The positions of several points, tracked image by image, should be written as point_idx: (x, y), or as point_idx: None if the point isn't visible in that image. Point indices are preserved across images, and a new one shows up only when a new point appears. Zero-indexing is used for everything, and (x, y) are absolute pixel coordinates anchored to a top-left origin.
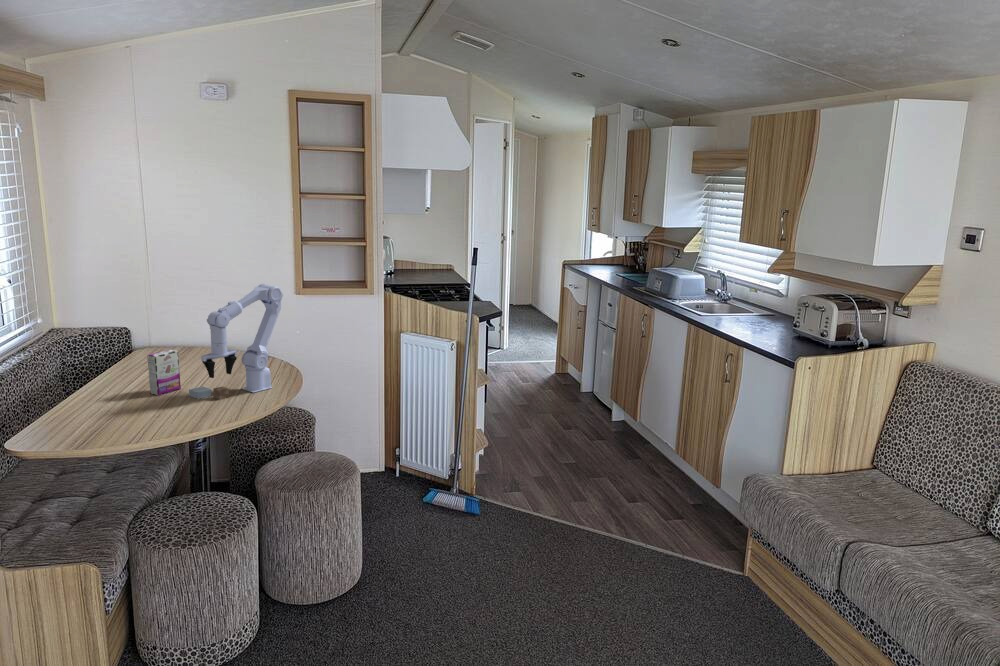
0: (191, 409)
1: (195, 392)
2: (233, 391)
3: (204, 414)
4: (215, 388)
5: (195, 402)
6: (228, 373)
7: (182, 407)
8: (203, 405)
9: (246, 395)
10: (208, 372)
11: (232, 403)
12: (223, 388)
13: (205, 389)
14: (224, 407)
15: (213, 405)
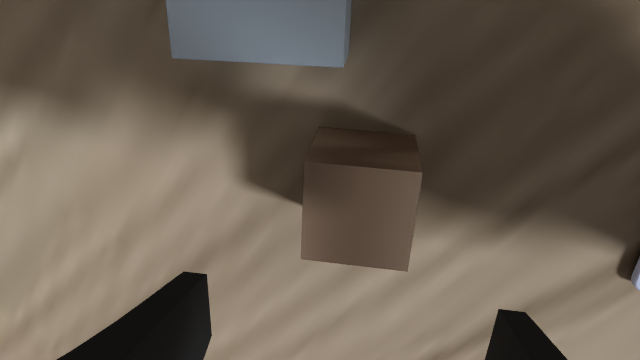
0: (50, 227)
1: (169, 12)
2: (588, 101)
3: None
4: (317, 180)
5: (139, 113)
6: (490, 355)
7: (13, 142)
8: (152, 221)
9: (538, 280)
10: (132, 322)
11: (321, 333)
12: (371, 241)
13: (295, 18)
14: (233, 349)
15: (204, 272)
